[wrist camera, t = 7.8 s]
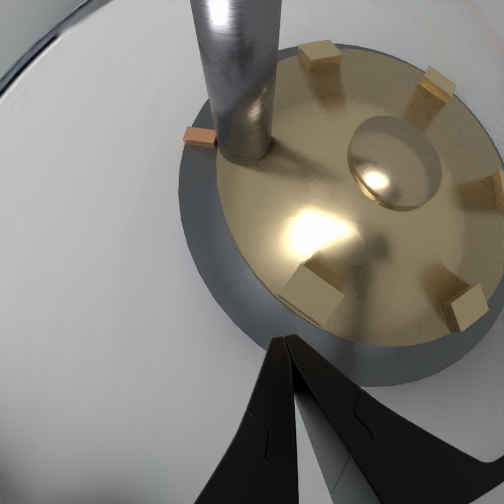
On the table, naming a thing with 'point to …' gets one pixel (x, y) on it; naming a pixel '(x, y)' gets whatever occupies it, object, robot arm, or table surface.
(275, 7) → the gold wheel with handle
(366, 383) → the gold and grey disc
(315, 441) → the robot arm
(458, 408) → the table surface
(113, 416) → the table surface
